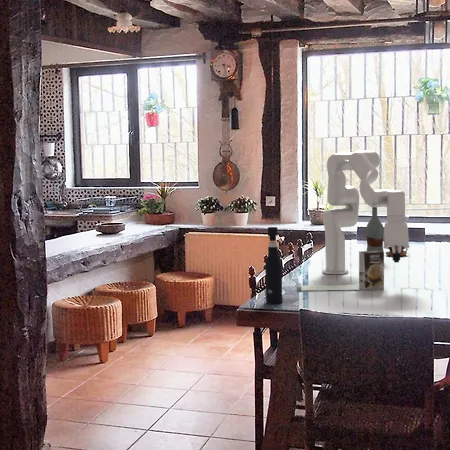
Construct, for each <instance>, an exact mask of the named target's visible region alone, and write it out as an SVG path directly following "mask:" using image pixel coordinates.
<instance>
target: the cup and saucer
mask: <svg viewBox="0 0 450 450" xmlns="http://www.w3.org/2000/svg"><path fill="white" fill-rule="evenodd" d="M389 247H391V246H389ZM397 249H398V246H395V251H396V252H397ZM408 250H409V248H407V249H406V250H403V251H402V252H401V253H400V257H403V256H406V255H407V254H408ZM384 254H386V256H390V257H393V253H392V252H391V251H390V250H389V251H385V252H384Z"/></svg>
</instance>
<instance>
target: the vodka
mask: <svg viewBox="0 0 450 450" xmlns="http://www.w3.org/2000/svg"><path fill="white" fill-rule="evenodd" d="M371 215H372V216H371V218H370V219H369V221H368V222H367V225H366V227H365V228H366V229H365V236H366V237H365V238H366V251H382V252H384V248H383V246H384V225H383V223H382V221H381V220H380V218H379V217H378V207H371ZM384 253H385V252H384Z"/></svg>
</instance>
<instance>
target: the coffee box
mask: <svg viewBox="0 0 450 450" xmlns="http://www.w3.org/2000/svg"><path fill="white" fill-rule="evenodd" d="M358 287H359V289H360V290H364V291H373V290H383V289H385V252H382V251H367V250H364V251H360V250H359V251H358Z"/></svg>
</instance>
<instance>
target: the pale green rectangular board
mask: <svg viewBox="0 0 450 450" xmlns="http://www.w3.org/2000/svg"><path fill="white" fill-rule="evenodd" d="M327 290H360V291H361V288H359V284H358V285H357V284H341V285H340V284H337V285H336V284H335V285H332V284H331V285H302V283H301V282H298V283H297V291H298V292H328V291H327Z"/></svg>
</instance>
